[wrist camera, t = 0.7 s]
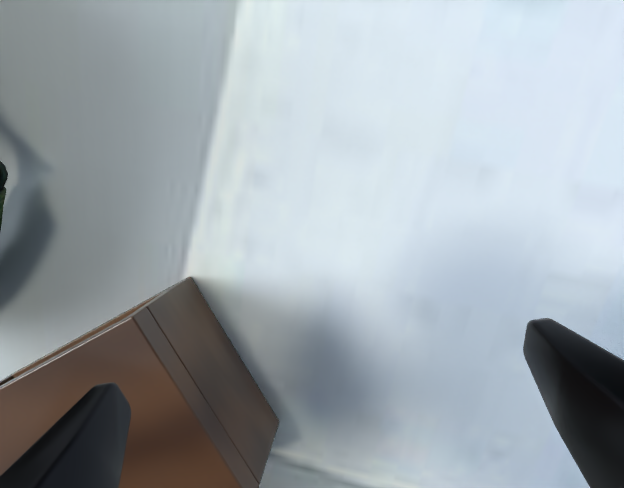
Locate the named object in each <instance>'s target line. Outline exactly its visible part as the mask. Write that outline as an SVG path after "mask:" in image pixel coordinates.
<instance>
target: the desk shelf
mask: <svg viewBox="0 0 624 488" xmlns="http://www.w3.org/2000/svg"><path fill="white" fill-rule="evenodd" d="M110 382H114V383H116V384H117V385H118V386H119V388H120V389H121V391H122V393H123V394H124V396H125V398H126V399H127V401H128V402H129V404H130V407H131V419H130V425H129V431H128V437H127V443H126V449H125V455H124V461H123V467H122V473H121V478H120V483H119V488H259V484H260V482H261V479H262V475H263V472H264V469H265V466H266V463H267V460H268V457H269V453H270V450H271V447H272V444H273V441H274V438H275V434H276V431H277V428H278V425H279V420H278V419H277V417H276V415H275V414H274V412H273V410H272V409H271V407H270V405H269V404H268V402H267V401H266V399H265V397H264V396H263V394H262V392H261V391H260V389H259V387H258V386H257V384H256V383H255V381H254V379H253V378H252V376H251V374H250V373H249V371H248V369H247V368H246V366H245V365H244V363H243V361H242V360H241V358H240V356H239V355H238V353H237V351H236V350H235V348H234V347H233V345H232V343H231V342H230V340H229V338H228V337H227V335H226V333H225V332H224V330H223V329H222V327H221V325H220V324H219V322H218V320H217V319H216V317H215V315H214V314H213V312H212V311H211V309H210V307H209V306H208V304H207V302H206V301H205V299H204V297H203V296H202V294H201V292H200V291H199V289H198V288H197V286H196V284H195V283H194V281H193V279H192V278H191V277H188V278H186V279H184V280H182V281H180V282H179V283H177V284H175V285H173V286H171V287H169V288H168V289H166V290H164V291H162V292H160V293H158V294H157V295H155V296H153V297H151V298H149V299H148V300H146V301H144V302H142V303H140V304H138V305H137V306H135V307H133V308H131V309H129V310H128V311H126V312H124V313H122V314H120V315H118V316H117V317H115V318H113V319H111V320H109V321H107V322H106V323H104V324H102V325H100V326H98V327H97V328H95V329H93V330H91V331H89V332H87V333H86V334H84V335H82V336H80V337H78V338H77V339H75V340H73V341H71V342H69V343H67V344H66V345H64V346H62V347H60V348H58V349H57V350H55V351H53V352H51V353H49V354H47V355H46V356H44V357H42V358H40V359H38V360H37V361H35V362H33V363H31V364H29V365H27V366H26V367H24V368H22V369H20V370H18V371H17V372H15V373H13V374H11V375H9V376H8V377H6V378H5V379H3V380H1V381H0V476H1V475H2V474H3V473H4V472H5V471H6V470H7V469H8V468H9V467H10V466H11V465H12V464H13V463H14V462H15V461H16V460H17V459H18V458H19V457H20V456H22V455H23V454H24V453H25V452H26V451H27V450H28V449H29V448H30V447H31V446H32V445H33V444H34V443H35V442H36V441H37V440H38V439H39V438H40V437H41V436H42V435H43V434H44V433H45V432H46V431H47V430H49V429H50V428H51V427H52V426H53V425H54V424H55V423H56V422H57V421H58V420H59V419H60V418H61V417H62V416H63V415H64V414H65V413H66V412H67V411H68V410H69V409H70V408H71V407H72V406H73V405H75V404H76V403H77V402H78V401H79V400H80V399H81V398H82V397H83V396H84V395H85V394H86V393H87V392H88V391H89V390H90V389H91V388H92V387H94V386H95V385H97V384H103V383H110Z"/></svg>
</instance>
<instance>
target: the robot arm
mask: <svg viewBox="0 0 624 488" xmlns="http://www.w3.org/2000/svg"><path fill="white" fill-rule="evenodd" d="M523 352H524V356H525V359H526V361H527V364H528V366H529V368H530V370H531V373H532V375H533V377H534V380H535V382H536V384H537V386H538V389H539V391H540V393H541V395H542V398H543V400H544V402H545V405H546V407H547V409H548V411H549V414H550V416H551V418H552V420H553V422H554V424H555V426H556V428H557V430H558V432H559V434H560V436H561V438H562V439H563V441H564V443H565V445H566V446H567V448H568V450H569V451H570V453H571V455H572V457H573V458H574V460H575V462H576V464H577V465H578V467H579V469H580V471H581V472H582V474H583V476H584V478H585V479H586V481H587V483H588V485H589V486H590V488H624V360H622V359H620V358H619V357H617V356H615V355H613V354H612V353H610V352H608V351H606V350H605V349H603V348H601V347H600V346H598V345H596V344H594V343H593V342H591V341H589V340H587V339H586V338H584V337H582V336H580V335H579V334H577V333H575V332H573V331H572V330H570V329H568V328H566V327H565V326H563V325H561V324H559V323H558V322H556V321H554V320H552V319H549V318H543V319H537V320H531V321H529V322H528V324H527V328H526V334H525V340H524V346H523ZM130 419H131V407H130V404H129V402H128V401H127V399H126V398H125V396H124V394H123V393H122V391H121V389H120V388H119V386H118V385H117V384H116V383H114V382H110V383H103V384H97V385H95V386H94V387H92V388H91V389H90V390H89V391H88V392H87V393H86V394H85V395H84V396H83V397H82V398H81V399H80V400H79V401H78V402H77V403H76V404H75V405H73V406H72V407H71V408H70V409H69V410H68V411H67V412H66V413H65V414H64V415H63V416H62V417H61V418H60V419H59V420H58V421H57V422H56V423H55V424H54V425H53V426H52V427H51V428H50V429H49V430H47V431H46V432H45V433H44V434H43V435H42V436H41V437H40V438H39V439H38V440H37V441H36V442H35V443H34V444H33V445H32V446H31V447H30V448H29V449H28V450H27V451H26V452H25V453H24V454H23V455H22V456H20V457H19V458H18V459H17V460H16V461H15V462H14V463H13V464H12V465H11V466H10V467H9V468H8V469H7V470H6V471H5V472H4V473H3V474H2V475H1V476H0V488H119V483H120V478H121V473H122V467H123V461H124V455H125V449H126V443H127V437H128V431H129V425H130Z"/></svg>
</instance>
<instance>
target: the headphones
mask: <svg viewBox="0 0 624 488" xmlns="http://www.w3.org/2000/svg"><path fill="white" fill-rule="evenodd" d="M7 177H8V173H7V170H6V167H5V165H4V164H3V163H2V162H1V161H0V230H1V224H2V214H3V205H4V200H5V195H6V188H5V187H4V185H5V183H6V181H7Z"/></svg>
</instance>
